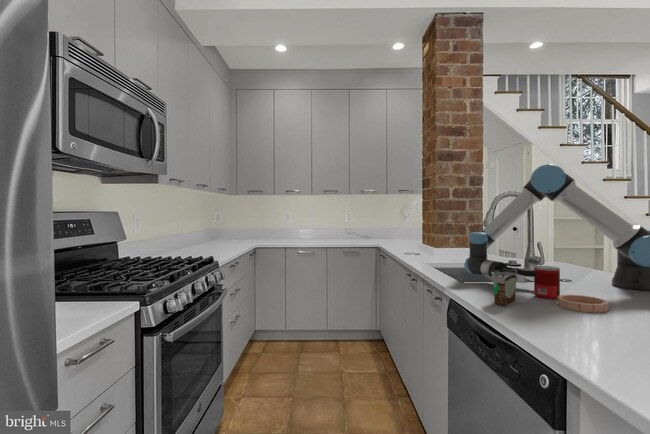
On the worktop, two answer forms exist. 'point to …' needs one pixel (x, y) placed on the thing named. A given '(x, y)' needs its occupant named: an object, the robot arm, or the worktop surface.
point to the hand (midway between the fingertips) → (538, 278)
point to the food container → (504, 288)
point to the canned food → (547, 282)
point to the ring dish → (583, 303)
